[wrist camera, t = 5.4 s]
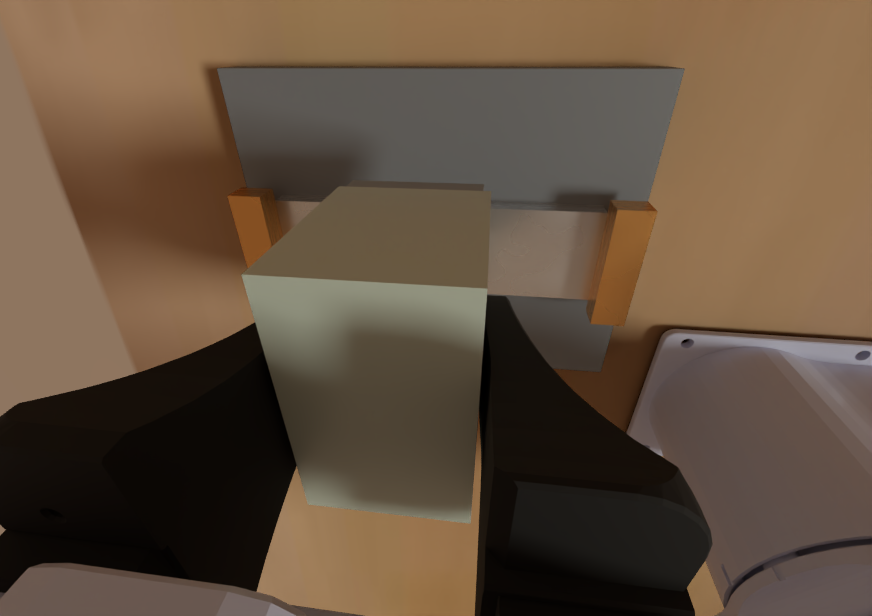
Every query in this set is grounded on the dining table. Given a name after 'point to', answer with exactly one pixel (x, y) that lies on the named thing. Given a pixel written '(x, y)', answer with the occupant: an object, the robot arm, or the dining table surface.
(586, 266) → the rail
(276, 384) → the block
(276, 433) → the robot arm
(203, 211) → the dining table surface
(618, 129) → the mounting board
